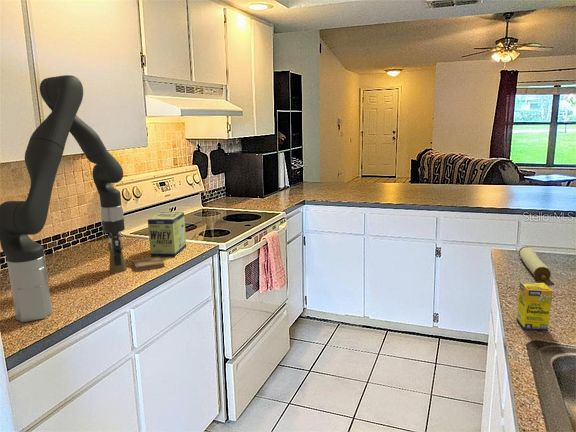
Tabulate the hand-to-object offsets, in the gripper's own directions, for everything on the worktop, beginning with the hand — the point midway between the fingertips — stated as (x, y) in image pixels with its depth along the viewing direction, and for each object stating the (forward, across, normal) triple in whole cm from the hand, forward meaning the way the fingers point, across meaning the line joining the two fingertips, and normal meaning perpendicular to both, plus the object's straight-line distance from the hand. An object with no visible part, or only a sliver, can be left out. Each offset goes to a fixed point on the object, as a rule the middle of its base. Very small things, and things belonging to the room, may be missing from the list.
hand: (117, 262), depth 168 cm
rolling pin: (+3, +73, +131) cm, 150 cm away
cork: (+3, 0, 0) cm, 3 cm away
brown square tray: (+3, 0, +11) cm, 11 cm away
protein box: (+3, -15, +22) cm, 27 cm away
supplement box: (+3, +102, +91) cm, 136 cm away
